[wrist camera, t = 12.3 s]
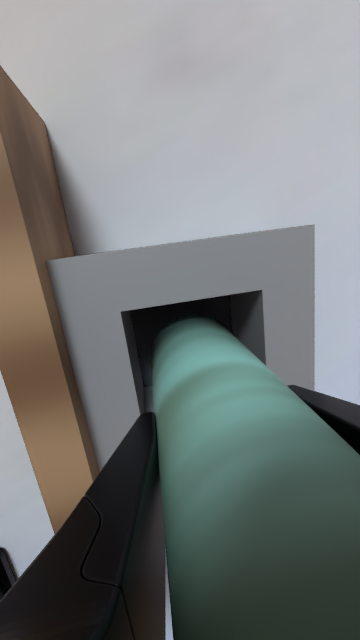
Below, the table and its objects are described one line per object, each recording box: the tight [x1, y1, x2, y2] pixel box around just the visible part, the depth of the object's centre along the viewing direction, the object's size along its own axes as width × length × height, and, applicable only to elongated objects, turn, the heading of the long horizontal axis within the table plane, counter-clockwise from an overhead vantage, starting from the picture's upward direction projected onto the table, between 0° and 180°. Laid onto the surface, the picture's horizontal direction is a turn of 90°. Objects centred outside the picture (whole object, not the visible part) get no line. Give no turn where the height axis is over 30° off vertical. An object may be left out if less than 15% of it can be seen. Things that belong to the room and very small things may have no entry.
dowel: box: [150, 315, 360, 640], centre depth 8 cm, size 4×4×11 cm
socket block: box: [46, 225, 314, 473], centre depth 14 cm, size 10×10×4 cm
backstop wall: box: [0, 66, 99, 534], centre depth 12 cm, size 20×2×6 cm, turn 7°
